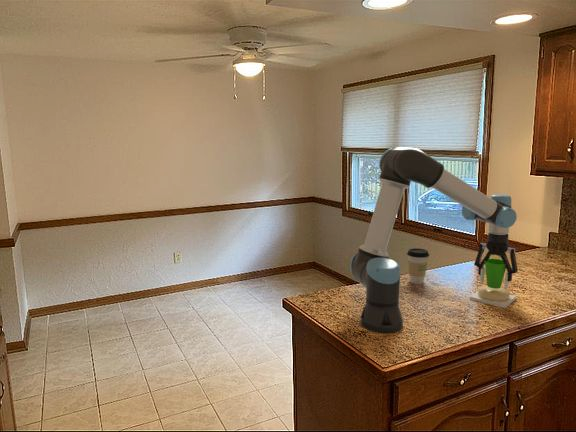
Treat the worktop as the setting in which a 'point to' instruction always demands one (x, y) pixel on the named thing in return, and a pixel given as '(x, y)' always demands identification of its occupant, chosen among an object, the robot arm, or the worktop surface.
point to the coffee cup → (417, 264)
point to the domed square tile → (493, 296)
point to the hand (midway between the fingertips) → (493, 285)
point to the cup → (494, 272)
